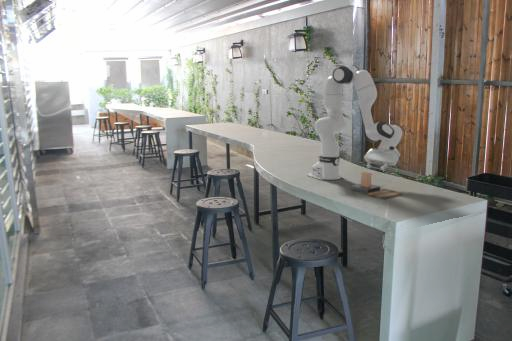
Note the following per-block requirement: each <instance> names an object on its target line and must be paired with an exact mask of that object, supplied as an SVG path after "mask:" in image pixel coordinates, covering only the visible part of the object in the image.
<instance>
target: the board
mask: <svg viewBox="0 0 512 341" xmlns="http://www.w3.org/2000/svg"><path fill="white" fill-rule="evenodd" d="M401 195H403V192H402V191H398V190H393V189H389V188H383V189H380V190H379V191H375V192H371V193H368V194H367V196H370V197H374V198H379V199H383V200H387V199H391V198H394V197H396V196H401Z"/></svg>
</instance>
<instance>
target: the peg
mask: <svg viewBox="0 0 512 341" xmlns="http://www.w3.org/2000/svg"><path fill="white" fill-rule="evenodd" d="M360 176H361V177H360V184H361V186H362V187H366V188H367V187H371V184H372V173H371V172H367V171H365V172H361V174H360Z"/></svg>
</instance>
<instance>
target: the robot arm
mask: <svg viewBox="0 0 512 341" xmlns="http://www.w3.org/2000/svg"><path fill="white" fill-rule="evenodd" d="M331 74H332V75H330V76H329V77H327V78H326V80H325V84H324V90H323V91H324V92H323V103H322V104H323V105H322V106H323V108H324V110H326V114H327V116H324V117H321V118H318V119H316V120H315V122H314V126H313V127H314V131H315V132H316V134H317V135H318V137H319V139H320V143H321V144H320V145H321V146H320V147H321V148H320V149H321V154H320V156H317V158H318V159H319V160H318V161H317V162H315V163H314V164H313V165H312V166H311V168H310V172H308V173H307V174H306V176H308V177H311V178H313V179H317V180H329V181H331V180H332V181H333V180H340V179H341V178H342V177H341V171H340V158H341V157H340V143H339V142H338V141H337V139H336V134H340V133H342V132H344V131H345V130H346V129H347V127H348V121H347V119H346V118H345V116H344V114H343V110H342V106H343V105H342V103H343V102H342V101H343V100H342V99H343V90H344V89H343V88H344V86H345V85H349V84H352V85H353V86H354V88H355V91H356V94H357V97H358V110H359V113H360V117H361V122H362V126H363V136H364V139H365V140H366V141H368V142H369V143H377V142H379V140H381V141H380V144H379V145H378V146H377V148H375V147H373V148H370V149H369V150H368V151H367V152H366V153H365V155H364V156H363V159H364V161H365V162H366V163H367V164H366V168H367V169H371V167H372V165H371V164H378V165H382V166H381V167H380V168H379V169H380V171H384V170H385V169H387V168H388V167H389V166H391V167H393V166H396V164H397V163H398V162H399V158H400V156H401V153H400V151H399V150H398V148H396V147H397V146H398V145H399V143H400V142H401V139H402V137H403V129H402V128H401V127H400V126H398V125H396V124H390V123H388V122H386V121H385V120H381V121H378V122H376V123H374V120H373V116H372V106H373V105H374V103H375V101H376V100H377V97H378V90H377V87H376V84H375V82H374V80H373V77H372V75H371V73H370V72H369V71H368V70H366V69H360V68H359V67H358V66H356V65H353V64H344V65H338V66H336V67H335V68H334V69H333V71H332V73H331Z"/></svg>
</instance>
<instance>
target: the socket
mask: <svg viewBox="0 0 512 341" xmlns="http://www.w3.org/2000/svg"><path fill="white" fill-rule="evenodd" d="M379 190H381V186H380V185H378V184H377V185H376V184H373V183H371V187H367V188H366V187H362V186H361V183H358V184H353V185H351V190H350V191H354V192H357V193H363V194H366V195H368V193H371V192H375V191H379Z"/></svg>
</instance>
